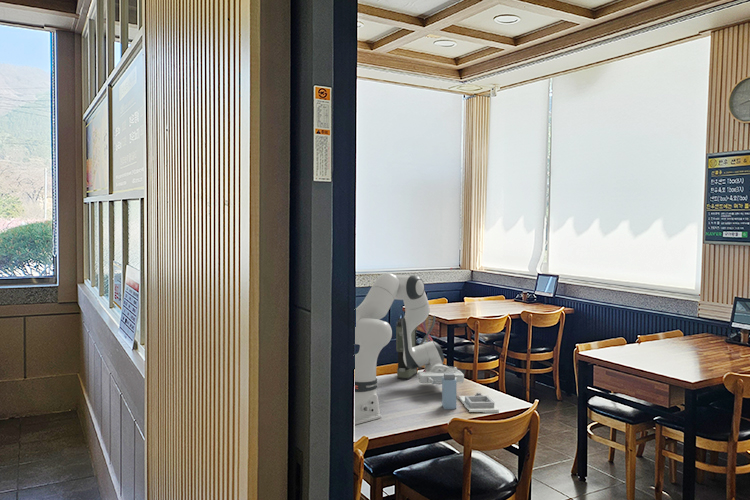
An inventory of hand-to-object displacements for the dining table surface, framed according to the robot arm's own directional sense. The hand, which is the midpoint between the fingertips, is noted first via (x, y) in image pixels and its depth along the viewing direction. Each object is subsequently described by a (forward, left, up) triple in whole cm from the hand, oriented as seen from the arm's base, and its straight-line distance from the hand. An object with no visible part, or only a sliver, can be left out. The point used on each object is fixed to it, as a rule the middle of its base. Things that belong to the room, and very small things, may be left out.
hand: (444, 382), depth 250 cm
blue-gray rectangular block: (-7, -7, -8) cm, 13 cm away
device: (+21, +37, -8) cm, 43 cm away
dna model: (+33, +33, -8) cm, 47 cm away
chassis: (+3, -15, -8) cm, 17 cm away
